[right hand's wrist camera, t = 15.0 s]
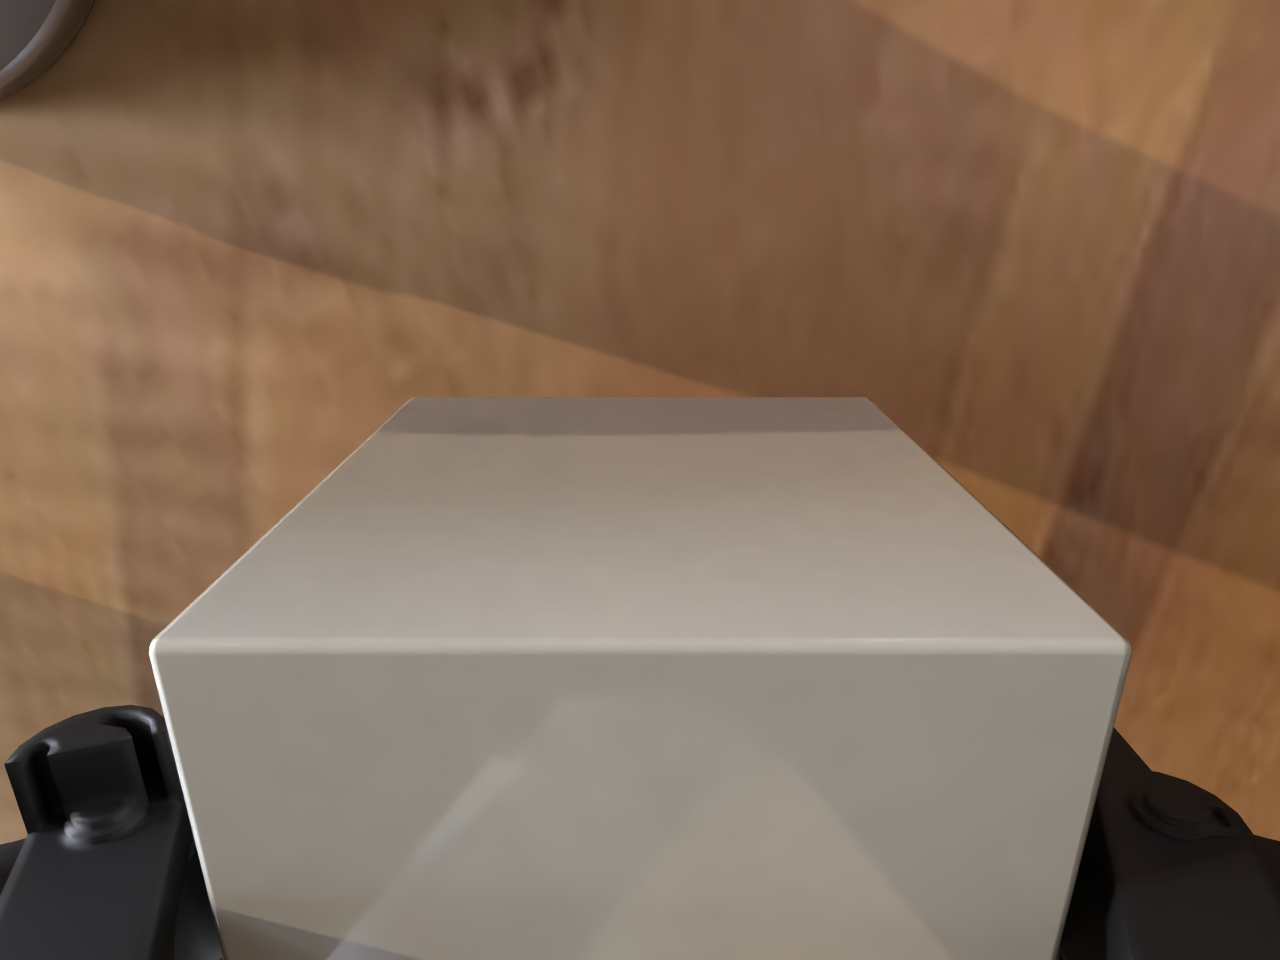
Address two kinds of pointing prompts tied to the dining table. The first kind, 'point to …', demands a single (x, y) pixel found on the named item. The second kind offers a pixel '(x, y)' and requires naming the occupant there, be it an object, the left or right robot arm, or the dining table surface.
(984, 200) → the dining table surface
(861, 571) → the cap block
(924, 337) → the dining table surface
